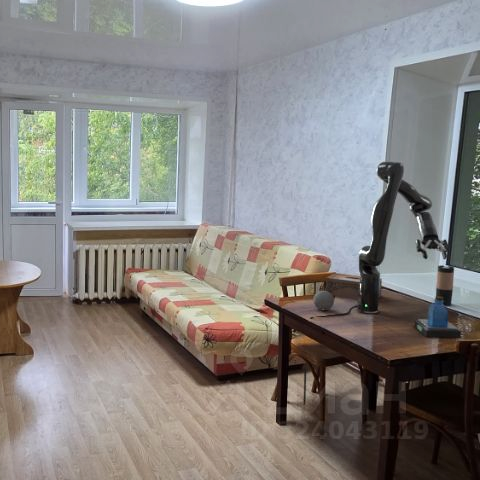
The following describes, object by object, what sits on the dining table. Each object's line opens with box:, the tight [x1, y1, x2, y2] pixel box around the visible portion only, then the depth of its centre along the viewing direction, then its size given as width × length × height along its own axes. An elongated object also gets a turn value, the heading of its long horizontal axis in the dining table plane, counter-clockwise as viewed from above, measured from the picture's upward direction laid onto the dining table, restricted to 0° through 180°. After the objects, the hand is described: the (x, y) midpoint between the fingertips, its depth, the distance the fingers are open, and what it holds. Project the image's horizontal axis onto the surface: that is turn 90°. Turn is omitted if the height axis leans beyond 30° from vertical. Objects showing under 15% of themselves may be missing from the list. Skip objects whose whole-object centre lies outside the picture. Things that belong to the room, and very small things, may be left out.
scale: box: [414, 319, 462, 339], centre depth 232 cm, size 14×14×3 cm
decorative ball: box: [312, 290, 335, 311], centre depth 266 cm, size 10×10×10 cm
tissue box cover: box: [325, 272, 383, 301], centre depth 292 cm, size 26×14×10 cm, turn 52°
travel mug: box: [435, 265, 455, 307], centre depth 272 cm, size 8×8×20 cm
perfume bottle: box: [427, 295, 449, 326], centre depth 231 cm, size 6×6×12 cm
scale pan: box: [417, 318, 459, 330], centre depth 231 cm, size 12×12×1 cm
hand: (435, 258), depth 250 cm, fingers open, 8 cm apart
